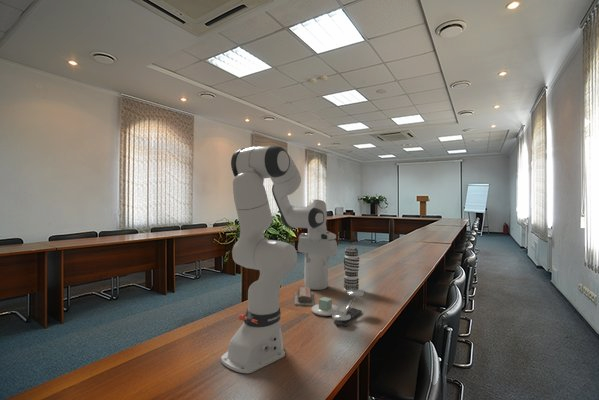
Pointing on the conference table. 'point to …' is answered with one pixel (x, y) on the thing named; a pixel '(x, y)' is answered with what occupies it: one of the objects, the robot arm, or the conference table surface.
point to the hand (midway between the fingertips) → (316, 263)
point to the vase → (316, 272)
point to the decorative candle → (351, 268)
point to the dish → (324, 313)
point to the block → (325, 304)
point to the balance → (348, 310)
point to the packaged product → (304, 297)
